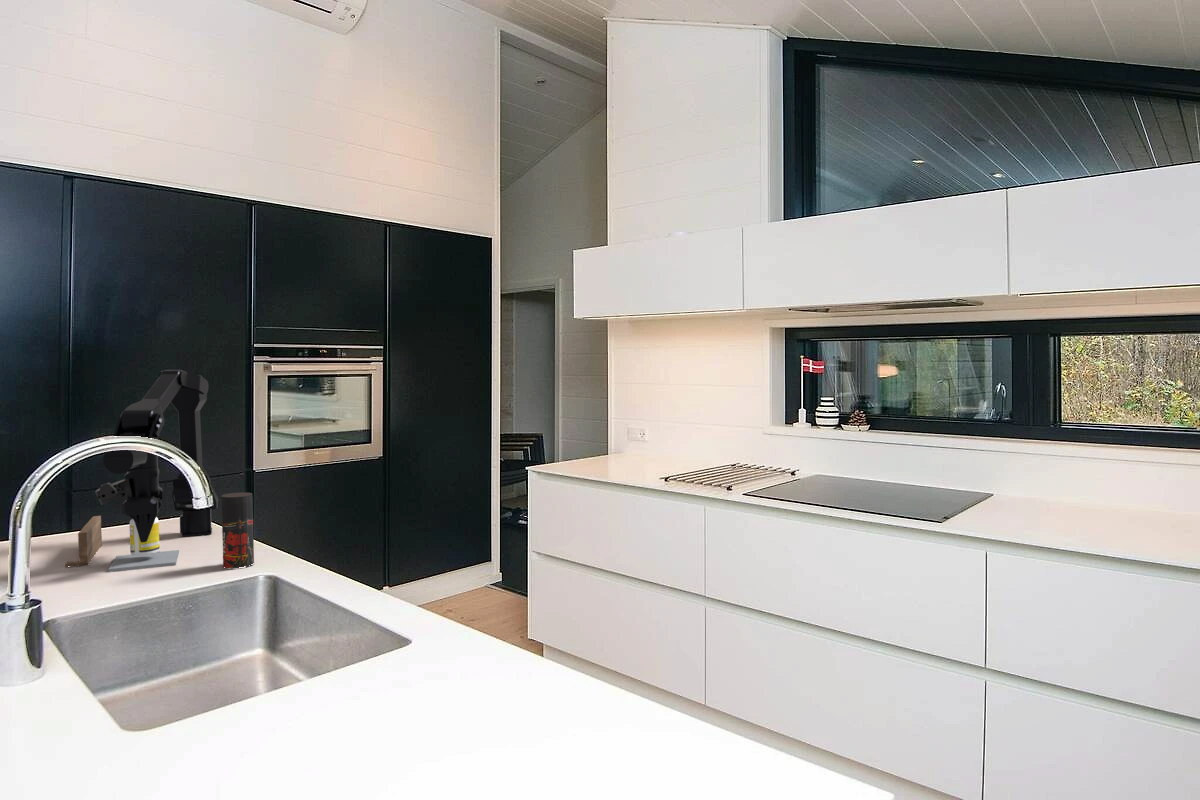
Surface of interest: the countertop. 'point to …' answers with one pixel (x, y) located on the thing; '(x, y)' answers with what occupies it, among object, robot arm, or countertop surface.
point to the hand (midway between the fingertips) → (145, 539)
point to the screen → (88, 542)
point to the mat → (144, 561)
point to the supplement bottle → (144, 547)
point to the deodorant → (237, 529)
